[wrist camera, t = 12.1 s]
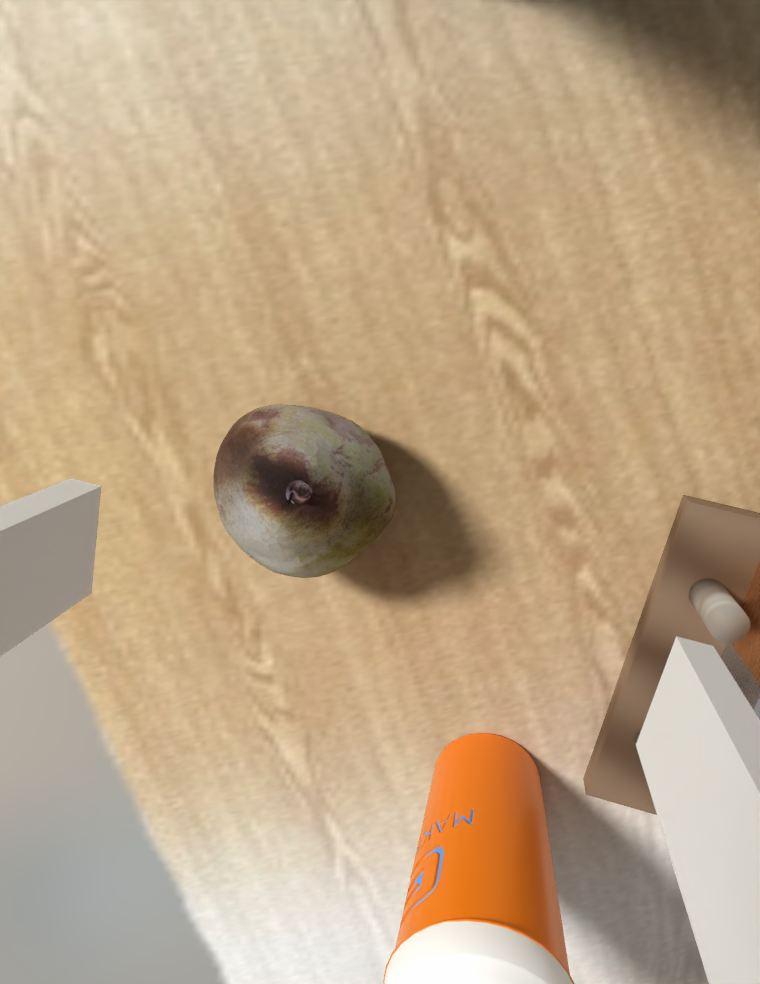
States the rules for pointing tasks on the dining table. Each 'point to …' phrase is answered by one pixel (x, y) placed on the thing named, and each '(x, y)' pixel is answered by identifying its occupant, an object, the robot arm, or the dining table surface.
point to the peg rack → (675, 632)
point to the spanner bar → (748, 648)
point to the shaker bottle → (482, 876)
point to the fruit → (301, 489)
